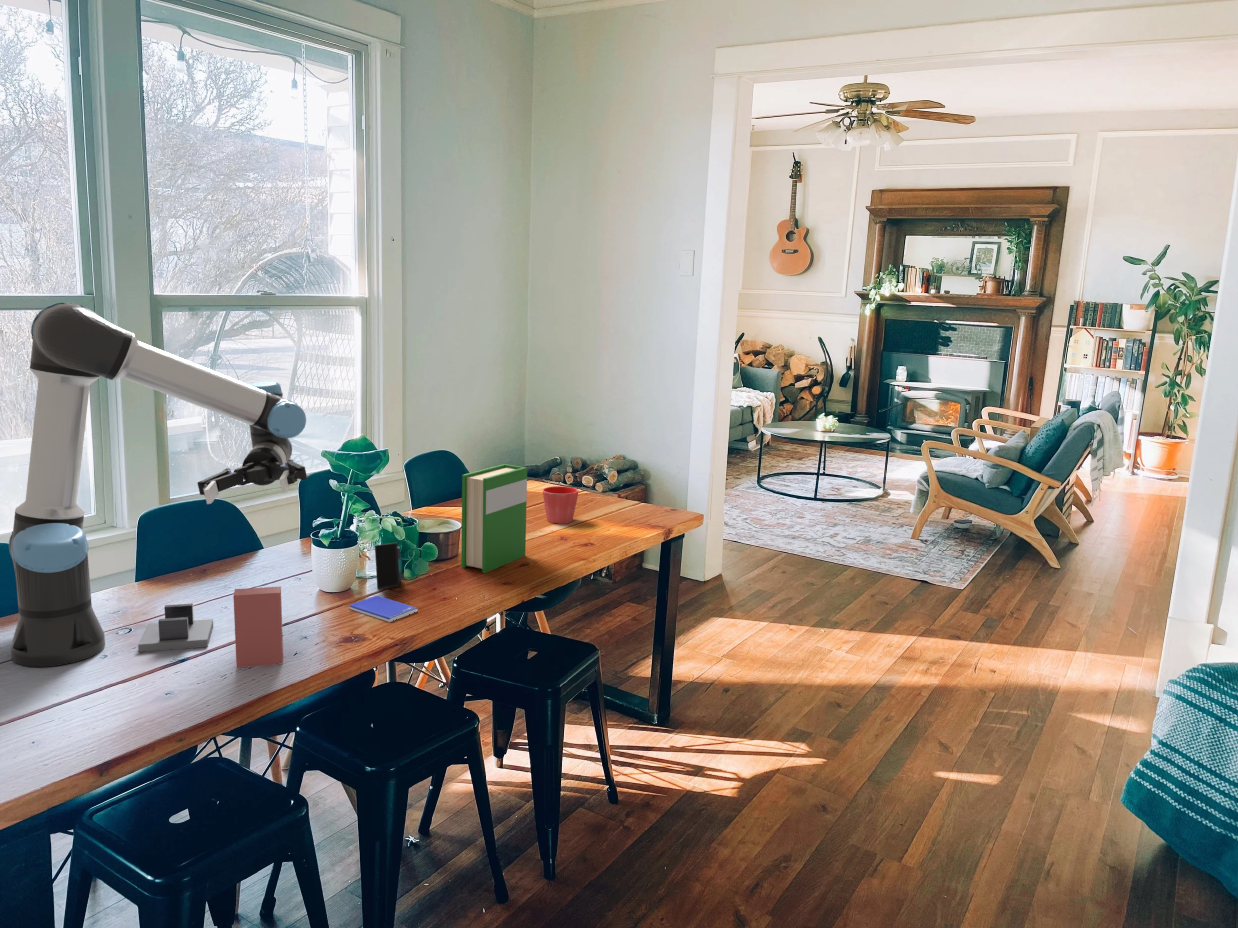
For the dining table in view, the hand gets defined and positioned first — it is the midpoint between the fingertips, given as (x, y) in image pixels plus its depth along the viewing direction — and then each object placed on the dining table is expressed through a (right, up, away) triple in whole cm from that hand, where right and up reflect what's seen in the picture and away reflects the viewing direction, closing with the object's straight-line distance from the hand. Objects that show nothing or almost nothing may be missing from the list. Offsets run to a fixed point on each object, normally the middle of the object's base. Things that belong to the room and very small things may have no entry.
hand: (245, 491), depth 173 cm
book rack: (-17, -29, +8) cm, 35 cm away
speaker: (+15, -23, +46) cm, 53 cm away
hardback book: (+38, -20, +66) cm, 78 cm away
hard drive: (+19, -28, +28) cm, 44 cm away
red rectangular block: (+3, -32, -1) cm, 32 cm away
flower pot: (+52, -12, +108) cm, 121 cm away
